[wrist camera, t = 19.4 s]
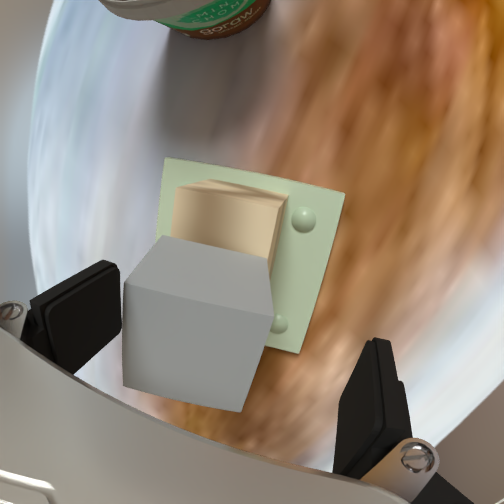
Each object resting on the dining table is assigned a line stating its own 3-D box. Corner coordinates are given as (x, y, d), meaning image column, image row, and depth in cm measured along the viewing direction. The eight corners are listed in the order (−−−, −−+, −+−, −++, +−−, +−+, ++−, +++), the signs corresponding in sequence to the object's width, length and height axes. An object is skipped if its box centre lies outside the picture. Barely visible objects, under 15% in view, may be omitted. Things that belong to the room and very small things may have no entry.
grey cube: (266, 258, 18) (274, 316, 12) (242, 342, 20) (240, 412, 14) (162, 234, 17) (123, 282, 11) (152, 321, 19) (123, 385, 13)
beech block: (288, 194, 22) (278, 208, 17) (257, 333, 26) (241, 377, 21) (210, 178, 23) (175, 187, 17) (192, 315, 27) (163, 353, 21)
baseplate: (344, 192, 22) (345, 194, 21) (299, 347, 27) (298, 354, 26) (170, 157, 24) (163, 157, 23) (156, 306, 29) (150, 311, 28)
